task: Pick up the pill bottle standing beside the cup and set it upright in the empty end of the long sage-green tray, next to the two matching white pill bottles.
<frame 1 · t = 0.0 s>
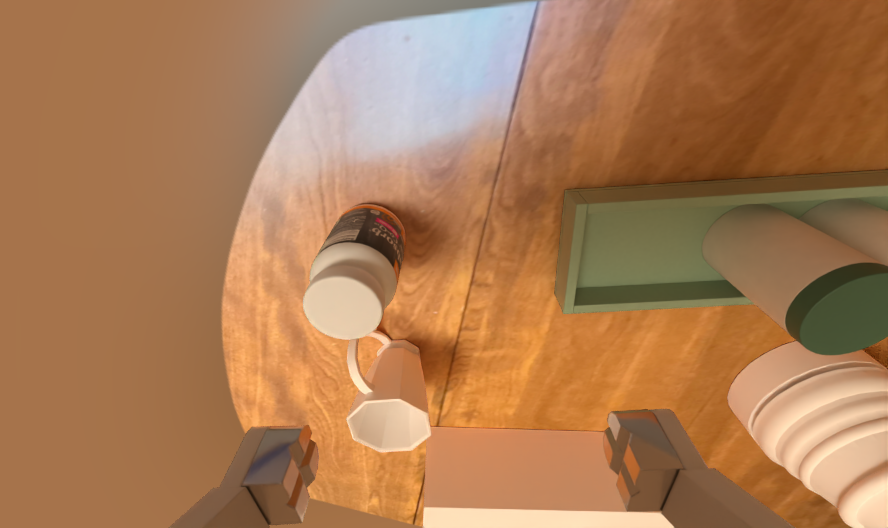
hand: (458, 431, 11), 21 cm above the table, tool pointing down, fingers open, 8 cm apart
hammer embossed box: (526, 465, 48), on the table
honey pot: (792, 382, 40), on the table
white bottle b: (825, 233, 30), resting on bottle tray
pill bottle: (371, 233, 31), on the table
white bottle a: (741, 237, 31), resting on bottle tray
cup: (391, 344, 37), on the table
bottle tray: (718, 236, 31), on the table
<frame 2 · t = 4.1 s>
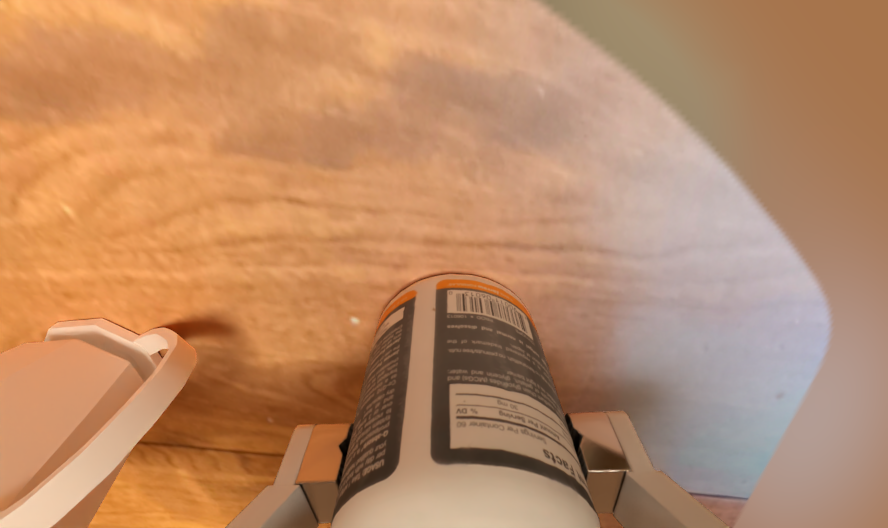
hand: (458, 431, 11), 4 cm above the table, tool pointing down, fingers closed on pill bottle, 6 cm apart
pill bottle: (455, 327, 14), on the table, touching gripper
cup: (140, 343, 15), on the table
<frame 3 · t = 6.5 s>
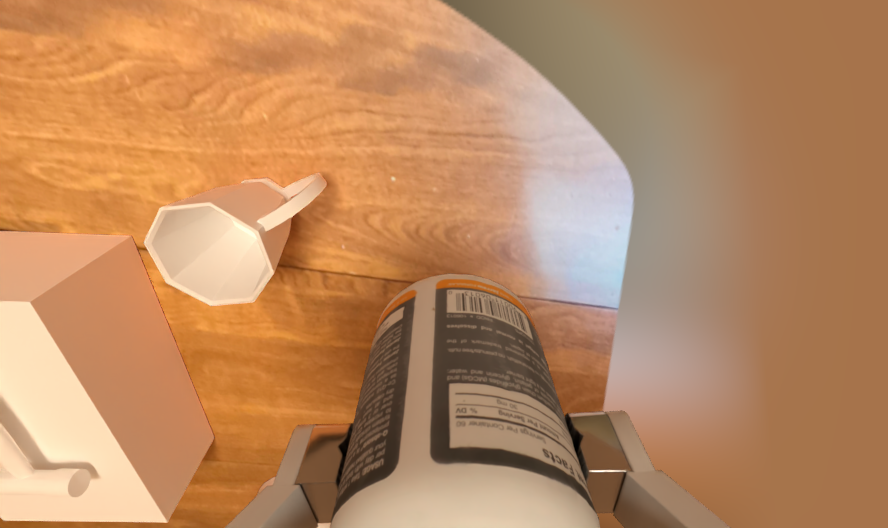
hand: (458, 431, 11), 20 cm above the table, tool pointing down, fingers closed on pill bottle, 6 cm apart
hammer embossed box: (103, 350, 36), on the table
pill bottle: (455, 327, 14), point 16 cm above the table, touching gripper
cup: (281, 194, 28), on the table
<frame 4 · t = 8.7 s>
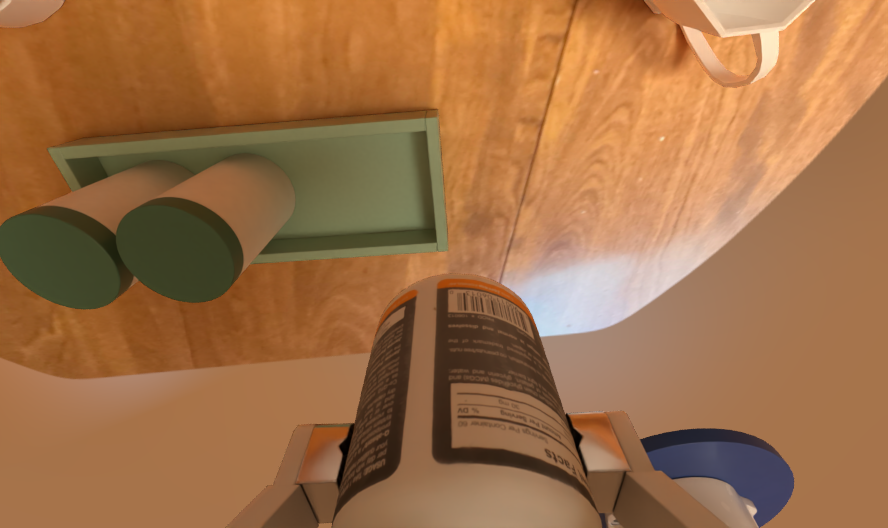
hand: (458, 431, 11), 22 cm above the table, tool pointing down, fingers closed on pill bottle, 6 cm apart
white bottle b: (172, 198, 29), resting on bottle tray
pill bottle: (456, 327, 14), point 17 cm above the table, touching gripper
white bottle a: (255, 192, 29), resting on bottle tray
bottle tray: (277, 189, 29), on the table
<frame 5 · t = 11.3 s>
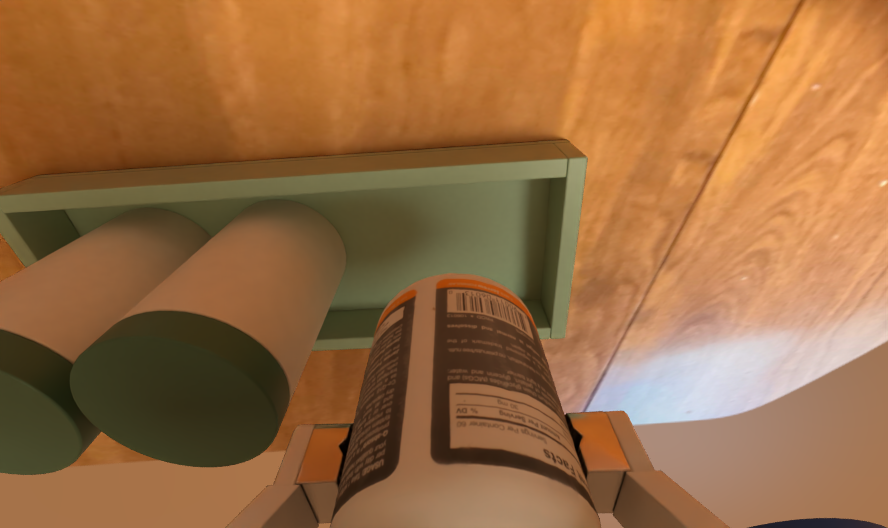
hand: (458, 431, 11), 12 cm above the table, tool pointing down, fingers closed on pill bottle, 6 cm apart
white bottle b: (170, 259, 21), resting on bottle tray
pill bottle: (455, 327, 14), point 7 cm above the table, touching gripper
white bottle a: (289, 252, 20), resting on bottle tray
bottle tray: (320, 246, 21), on the table
when the fingers open (4 cm above the table, at t = 13.5 s): pill bottle stays where it is, resting on bottle tray.
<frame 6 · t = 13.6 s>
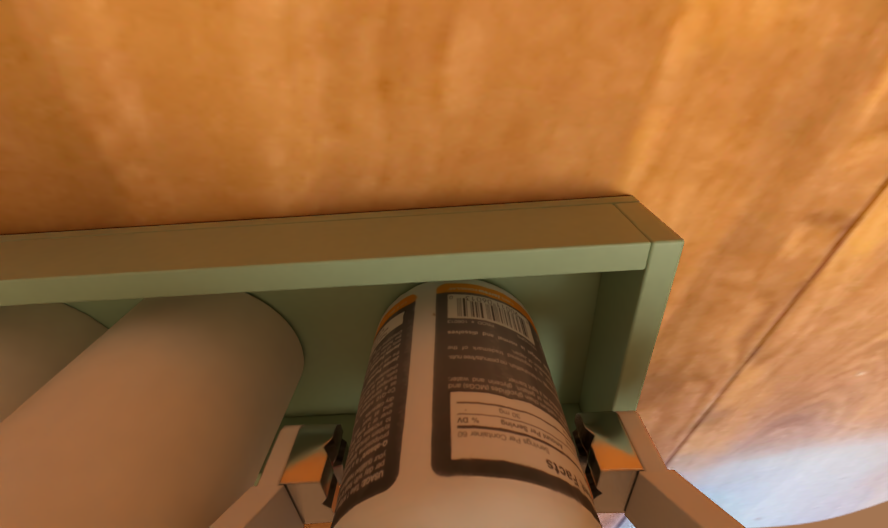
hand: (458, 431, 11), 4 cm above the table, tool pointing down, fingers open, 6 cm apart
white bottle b: (53, 356, 14), resting on bottle tray
pill bottle: (455, 331, 14), resting on bottle tray
white bottle a: (222, 348, 14), point 1 cm above the table, touching bottle tray, gripper
bottle tray: (268, 336, 15), on the table
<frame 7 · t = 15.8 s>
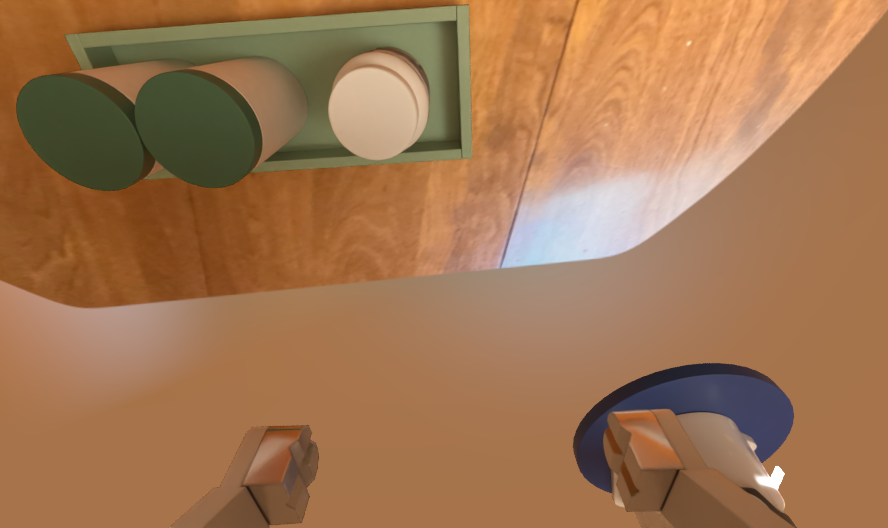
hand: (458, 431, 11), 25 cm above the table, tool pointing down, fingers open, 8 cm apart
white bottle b: (186, 103, 29), resting on bottle tray
pill bottle: (392, 89, 29), resting on bottle tray
white bottle a: (267, 101, 29), resting on bottle tray
bottle tray: (298, 94, 29), on the table
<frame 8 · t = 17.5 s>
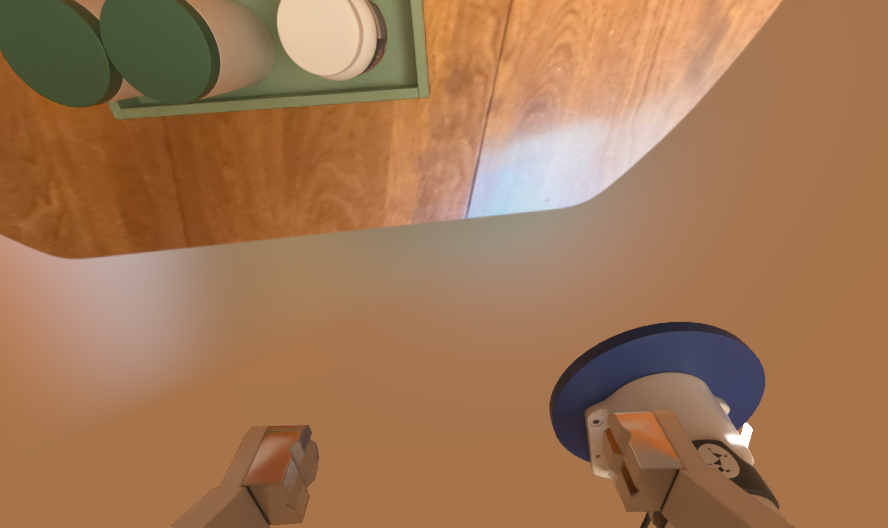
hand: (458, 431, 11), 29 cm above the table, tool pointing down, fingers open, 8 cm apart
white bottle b: (161, 47, 31), resting on bottle tray
pill bottle: (353, 32, 30), resting on bottle tray
white bottle a: (236, 44, 31), resting on bottle tray
bottle tray: (266, 39, 31), on the table
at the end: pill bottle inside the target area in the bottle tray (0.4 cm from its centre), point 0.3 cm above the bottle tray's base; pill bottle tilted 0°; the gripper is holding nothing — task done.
